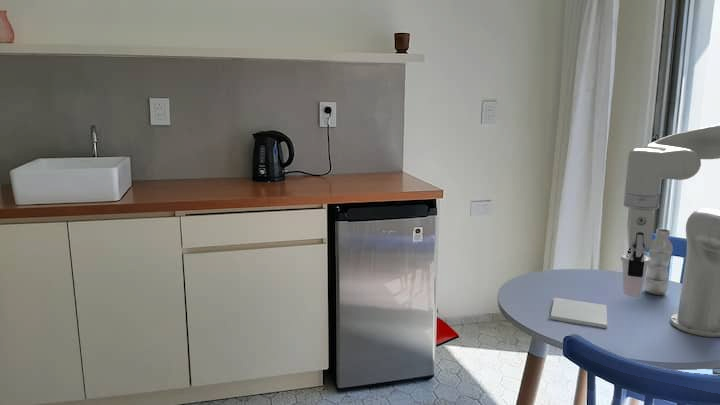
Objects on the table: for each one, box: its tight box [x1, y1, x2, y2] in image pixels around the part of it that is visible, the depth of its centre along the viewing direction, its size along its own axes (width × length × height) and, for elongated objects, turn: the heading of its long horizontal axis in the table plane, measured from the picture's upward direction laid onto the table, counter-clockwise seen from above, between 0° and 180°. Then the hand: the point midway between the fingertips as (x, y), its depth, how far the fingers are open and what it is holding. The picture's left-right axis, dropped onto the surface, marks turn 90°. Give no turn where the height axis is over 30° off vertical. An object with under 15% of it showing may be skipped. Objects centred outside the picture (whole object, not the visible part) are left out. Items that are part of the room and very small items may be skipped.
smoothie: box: [620, 252, 650, 298], centre depth 131 cm, size 6×6×14 cm
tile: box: [549, 297, 608, 329], centre depth 148 cm, size 14×14×1 cm
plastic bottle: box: [643, 228, 674, 296], centre depth 161 cm, size 6×7×20 cm
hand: (634, 270), depth 131 cm, fingers closed on smoothie, 6 cm apart
